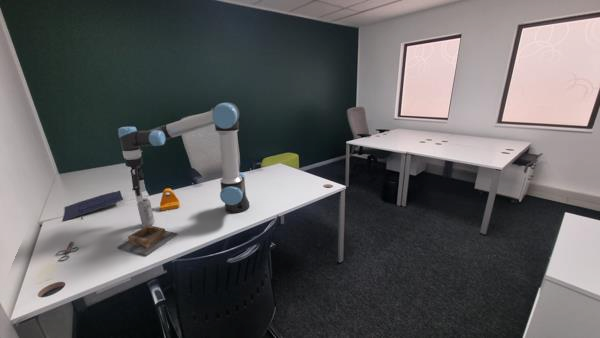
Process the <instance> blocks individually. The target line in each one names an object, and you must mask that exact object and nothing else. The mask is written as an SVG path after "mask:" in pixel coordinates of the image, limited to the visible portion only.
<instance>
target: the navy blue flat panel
mask: <svg viewBox="0 0 600 338" xmlns="http://www.w3.org/2000/svg"><path fill="white" fill-rule="evenodd" d="M121 201H124V198H123V196H122V192H121V190H118V191H112V192H109V193H106V194H105V193H104V194H101V195H98V196H95V197H91V198H88V199H85V200H81V201H78V202H75V203H72V204H70V205H67V206H64V214H63V218H62V222H65V221H66V220H71V219H73V218H75V217H80V216H82V215H85V214H87V213H91V212H94V211H97V210H99V209H102V208H106V207H109V206H111V205H114V204H117V203H118V202H121Z"/></svg>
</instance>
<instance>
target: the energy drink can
mask: <svg viewBox="0 0 600 338" xmlns="http://www.w3.org/2000/svg"><path fill="white" fill-rule="evenodd" d="M136 203H137V204H136V205H137V210H138V213H139V214H138V215H139V218H140V222H141V225H142V226H143V228H144V227H146V226H147V225H150V226H154V224H155V217H154V213H153V208H152V203H151V201H150V200H149V198H148V197H145V198H144V197H143V201H139V202H136Z"/></svg>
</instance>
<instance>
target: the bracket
mask: <svg viewBox="0 0 600 338" xmlns="http://www.w3.org/2000/svg"><path fill="white" fill-rule="evenodd" d="M177 208H180V199H179V198H178V196H177V195H176V194H175V192H174V191H173V189H171V188H170V187H169V188H165V189H164V190H163V191H162V195H161V199H160V204H159V211H166V212H167V210H168V211H172V210H176V209H177Z"/></svg>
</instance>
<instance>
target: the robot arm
mask: <svg viewBox="0 0 600 338" xmlns="http://www.w3.org/2000/svg"><path fill="white" fill-rule="evenodd" d="M239 118H240V109H239V108H238V106H237V105H236V104H234V103H233V102H230V101H225V102H222V103H218V104H217V105H216V106H215V107H212V108H211V110H209V111H206V112H203V113H199V114H196V115H193V116H190V117H186V118H185V119H181V120H177V121H174V122H171V123H167V124H165V125H160V126H157V127H154V128H152V129H150V130H137V127H136V126H121V127H119V128H117V131H118V133H117V134H118V138H119V142H120V145H121V149H122V155H123V158H124V163H125V166H126V167H127V168H128V167H129V168H131V169H130V175H131V183H132V189H131V191H134V195H135V199H136V203H138V202H139V201H143V198H144V197H143V192H144V193H145V192H146V191H147V190H146V186H145V185H146V184H145V179H146V177H144V174H143V171H142V168H141V166H142V165H143V164H144V160H143V157H142V156H143V155H142V153H143V150H141V147H158V146H160V147H161V146H163V145H165V143H166V141H167V140H170V139H172V138H176V137H178V136H183V135H186V134H189V133H192V132H195V131H199V130H202V129H205V128H208V127H211V126H214V129H215V132H217V133H218V137H219V138H218V139H219V140H218V141H219V149H220V159H221V161H220V162H221V168H222V169H221V170H222V178H221V179H220V180H219V181H220V189H221V190H220V192H219V197H220V200H221V202H223V203H224V210H225V211H226V212H228V213H231V214H238V213H243V212H245V211H247V210H249V208H250V201H249V199H248V197H247V194H246V182H245V173H243V172H241V171H240V169H239V155H238V142H237V140H238V139H237V133H238V132H239V130H240V129H239Z"/></svg>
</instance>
